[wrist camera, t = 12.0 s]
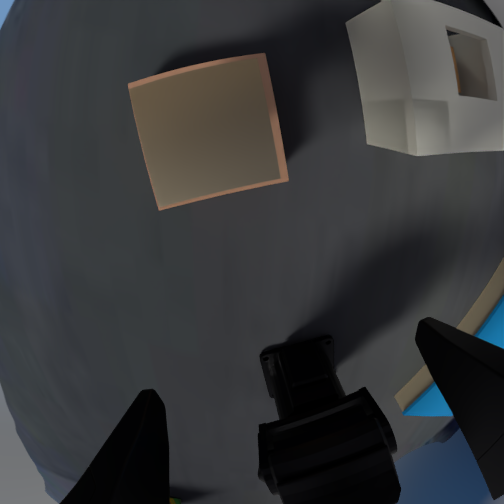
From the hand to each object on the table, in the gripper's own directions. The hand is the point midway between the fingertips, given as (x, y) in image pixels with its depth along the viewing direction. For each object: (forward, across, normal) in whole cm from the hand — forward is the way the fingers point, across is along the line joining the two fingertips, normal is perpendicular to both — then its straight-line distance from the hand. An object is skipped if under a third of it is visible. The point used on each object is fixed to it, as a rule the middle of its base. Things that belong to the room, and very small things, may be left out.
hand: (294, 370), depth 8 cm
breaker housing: (+12, -15, -10) cm, 22 cm away
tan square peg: (+12, +1, -7) cm, 14 cm away
